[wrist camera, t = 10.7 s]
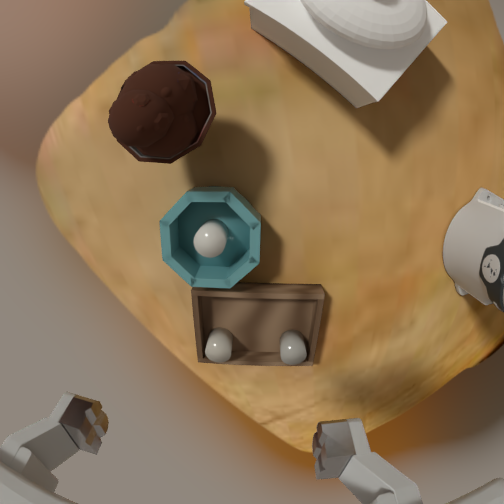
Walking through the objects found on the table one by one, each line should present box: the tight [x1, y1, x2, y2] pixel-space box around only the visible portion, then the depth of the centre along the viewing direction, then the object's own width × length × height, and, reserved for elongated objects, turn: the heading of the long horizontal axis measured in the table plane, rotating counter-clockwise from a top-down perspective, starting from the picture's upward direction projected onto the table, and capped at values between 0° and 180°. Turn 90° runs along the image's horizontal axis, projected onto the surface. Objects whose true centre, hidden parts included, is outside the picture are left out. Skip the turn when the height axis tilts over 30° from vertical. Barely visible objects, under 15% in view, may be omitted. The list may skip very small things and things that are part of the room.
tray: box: [191, 282, 325, 366], centre depth 42 cm, size 18×13×3 cm
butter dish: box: [244, 0, 447, 108], centre depth 21 cm, size 18×18×16 cm
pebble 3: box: [279, 330, 307, 365], centre depth 42 cm, size 4×4×4 cm
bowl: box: [160, 186, 261, 288], centre depth 37 cm, size 12×12×5 cm
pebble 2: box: [205, 327, 233, 363], centre depth 42 cm, size 4×4×4 cm
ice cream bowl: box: [108, 61, 216, 164], centre depth 27 cm, size 11×11×15 cm
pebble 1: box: [194, 219, 229, 258], centre depth 36 cm, size 4×4×4 cm
